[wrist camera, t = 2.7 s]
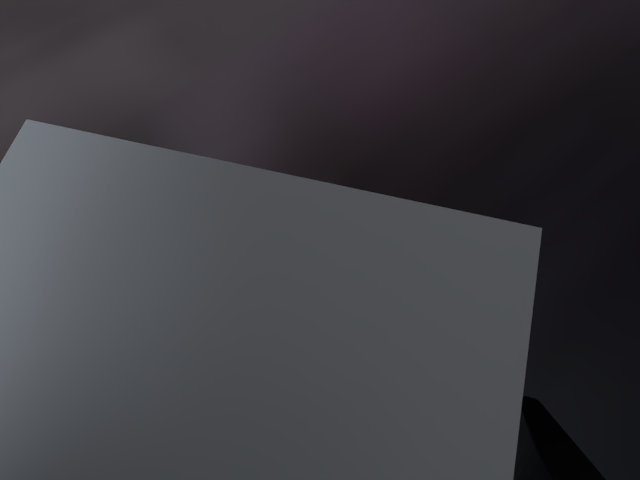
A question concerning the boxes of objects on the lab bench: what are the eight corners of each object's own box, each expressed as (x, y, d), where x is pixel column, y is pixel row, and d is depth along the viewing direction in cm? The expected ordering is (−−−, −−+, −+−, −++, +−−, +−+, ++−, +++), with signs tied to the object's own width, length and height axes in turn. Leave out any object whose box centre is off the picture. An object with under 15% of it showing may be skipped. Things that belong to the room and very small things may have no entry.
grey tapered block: (370, 499, 14) (443, 1088, 2) (223, 449, 15) (-300, 668, 3) (400, 354, 16) (542, 227, 4) (265, 317, 17) (26, 119, 5)
